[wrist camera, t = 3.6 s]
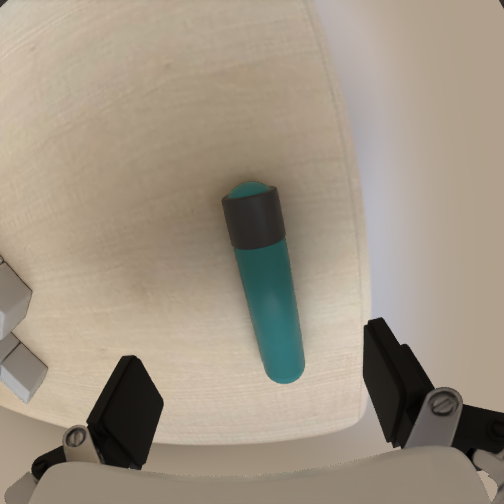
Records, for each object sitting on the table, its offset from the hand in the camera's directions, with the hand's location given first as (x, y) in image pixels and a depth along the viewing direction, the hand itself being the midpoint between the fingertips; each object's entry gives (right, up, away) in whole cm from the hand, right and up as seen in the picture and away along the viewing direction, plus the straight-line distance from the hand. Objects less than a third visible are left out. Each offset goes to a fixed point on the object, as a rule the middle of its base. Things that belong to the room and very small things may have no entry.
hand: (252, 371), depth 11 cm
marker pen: (+1, +3, +6) cm, 6 cm away
